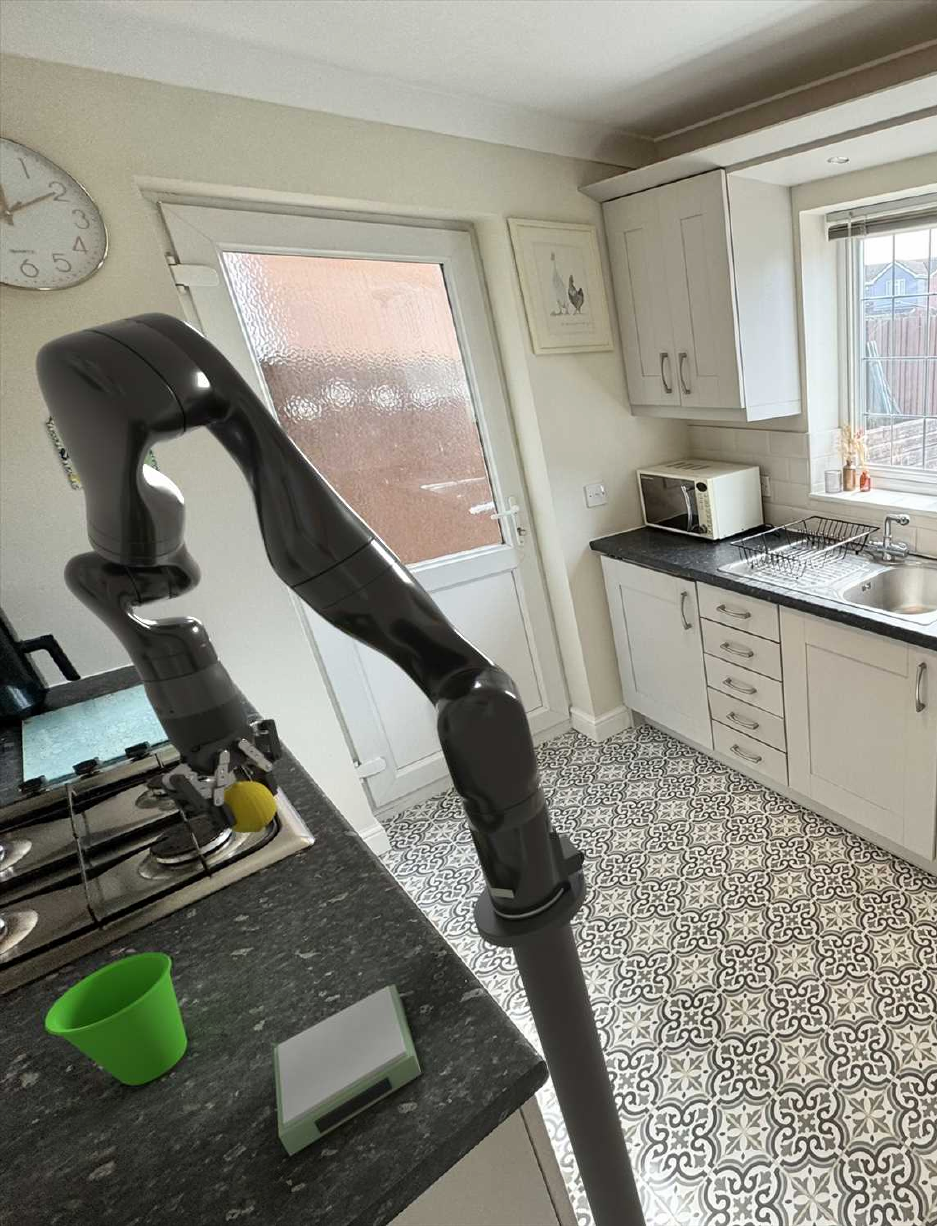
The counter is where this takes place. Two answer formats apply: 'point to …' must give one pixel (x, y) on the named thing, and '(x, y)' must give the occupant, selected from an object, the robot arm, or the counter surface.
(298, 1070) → the scale
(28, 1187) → the counter surface
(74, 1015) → the cup
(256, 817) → the lemon
